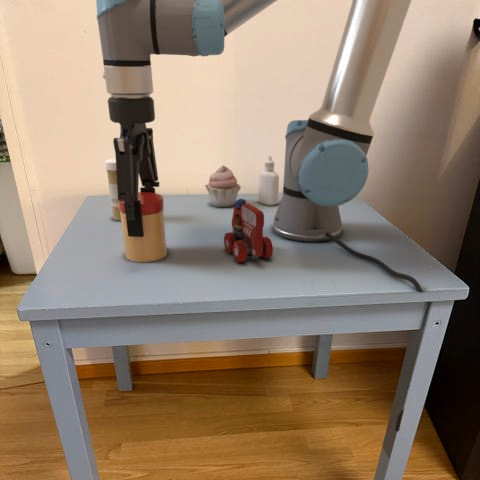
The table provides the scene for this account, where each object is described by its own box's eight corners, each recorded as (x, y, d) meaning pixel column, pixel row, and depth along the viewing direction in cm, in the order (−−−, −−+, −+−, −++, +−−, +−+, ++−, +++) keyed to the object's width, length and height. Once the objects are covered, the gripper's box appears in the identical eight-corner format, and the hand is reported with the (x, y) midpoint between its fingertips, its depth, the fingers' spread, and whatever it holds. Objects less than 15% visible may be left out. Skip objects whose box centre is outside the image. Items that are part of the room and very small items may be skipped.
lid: (173, 207, 85) (172, 197, 84) (140, 217, 80) (139, 206, 79) (143, 199, 89) (142, 189, 88) (109, 208, 84) (108, 198, 83)
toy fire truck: (251, 242, 96) (252, 192, 90) (276, 263, 86) (279, 209, 80) (219, 246, 93) (219, 195, 88) (242, 268, 83) (243, 213, 78)
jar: (175, 253, 90) (171, 200, 84) (143, 265, 84) (137, 209, 79) (148, 243, 94) (143, 192, 89) (117, 254, 89) (109, 201, 83)
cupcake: (213, 211, 114) (212, 170, 109) (200, 201, 122) (199, 163, 117) (246, 207, 118) (247, 167, 113) (232, 198, 125) (232, 160, 120)
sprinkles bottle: (135, 218, 109) (129, 160, 102) (119, 222, 106) (111, 162, 99) (125, 214, 111) (118, 157, 105) (109, 218, 109) (101, 159, 102)
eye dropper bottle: (272, 199, 124) (274, 153, 118) (279, 205, 119) (281, 158, 113) (257, 200, 123) (258, 154, 117) (263, 206, 118) (264, 158, 112)
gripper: (130, 91, 84) (141, 211, 96) (81, 100, 66) (103, 246, 78) (169, 92, 84) (176, 213, 95) (131, 101, 66) (145, 249, 77)
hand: (143, 228), depth 86 cm, fingers closed on lid, 8 cm apart
